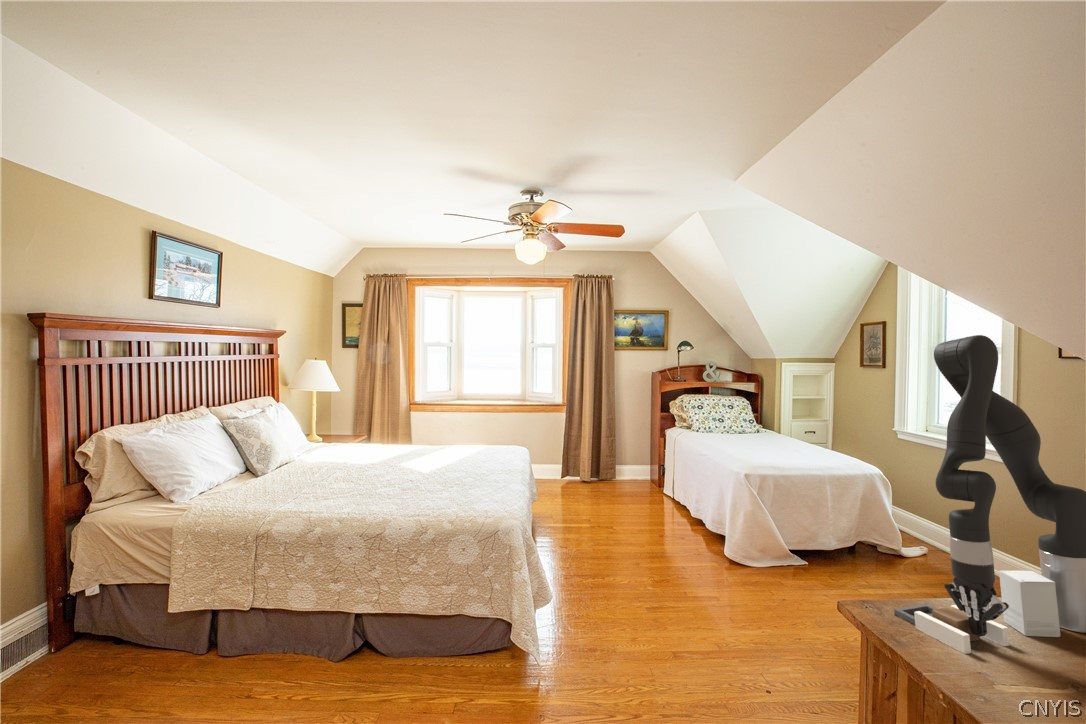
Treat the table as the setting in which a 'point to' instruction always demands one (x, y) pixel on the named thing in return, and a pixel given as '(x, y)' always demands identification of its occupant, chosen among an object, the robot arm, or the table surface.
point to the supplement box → (1030, 603)
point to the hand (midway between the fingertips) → (978, 634)
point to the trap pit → (908, 612)
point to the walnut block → (955, 620)
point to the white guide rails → (958, 632)
